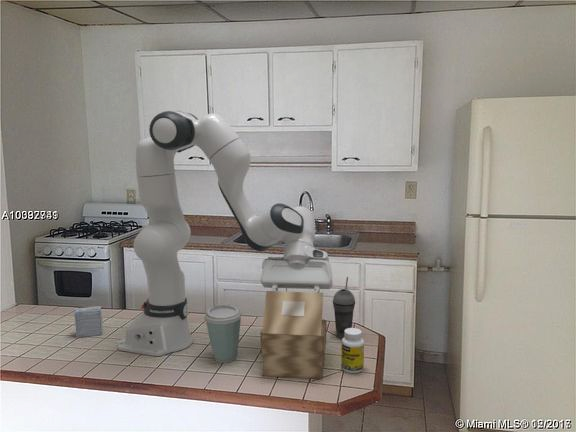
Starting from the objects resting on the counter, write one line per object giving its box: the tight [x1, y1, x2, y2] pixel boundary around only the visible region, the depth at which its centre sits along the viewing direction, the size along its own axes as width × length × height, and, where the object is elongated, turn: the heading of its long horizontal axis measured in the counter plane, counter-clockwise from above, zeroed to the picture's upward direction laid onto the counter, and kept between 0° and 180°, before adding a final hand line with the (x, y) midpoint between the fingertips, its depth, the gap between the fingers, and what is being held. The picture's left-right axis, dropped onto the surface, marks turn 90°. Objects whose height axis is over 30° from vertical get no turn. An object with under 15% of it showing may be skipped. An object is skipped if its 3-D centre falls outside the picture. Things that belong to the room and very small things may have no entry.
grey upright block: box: [74, 305, 104, 339], centre depth 159 cm, size 8×4×9 cm, turn 108°
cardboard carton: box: [259, 318, 327, 380], centre depth 135 cm, size 17×12×12 cm
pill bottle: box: [340, 327, 365, 374], centre depth 133 cm, size 6×6×11 cm
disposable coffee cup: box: [204, 303, 242, 364], centre depth 140 cm, size 11×11×15 cm
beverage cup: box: [332, 276, 356, 340], centre depth 155 cm, size 7×7×20 cm
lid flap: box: [261, 290, 324, 336], centre depth 130 cm, size 16×12×1 cm
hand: (294, 301), depth 133 cm, fingers open, 8 cm apart
